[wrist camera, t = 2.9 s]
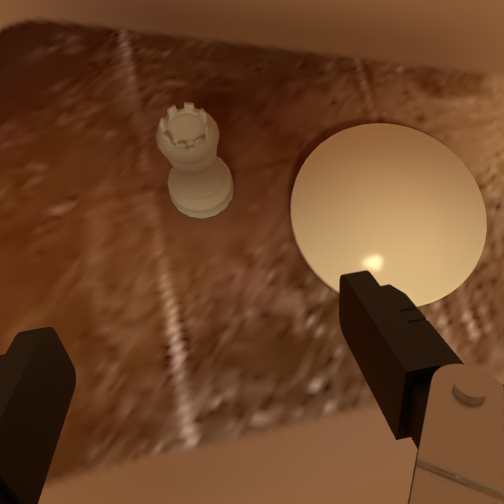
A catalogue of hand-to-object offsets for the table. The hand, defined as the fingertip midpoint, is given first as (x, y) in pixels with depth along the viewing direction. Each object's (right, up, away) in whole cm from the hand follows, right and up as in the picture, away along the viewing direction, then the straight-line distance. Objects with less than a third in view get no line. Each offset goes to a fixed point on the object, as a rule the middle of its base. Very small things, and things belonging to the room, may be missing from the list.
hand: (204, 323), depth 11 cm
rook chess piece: (-2, +6, +16) cm, 17 cm away
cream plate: (+10, +5, +15) cm, 19 cm away
